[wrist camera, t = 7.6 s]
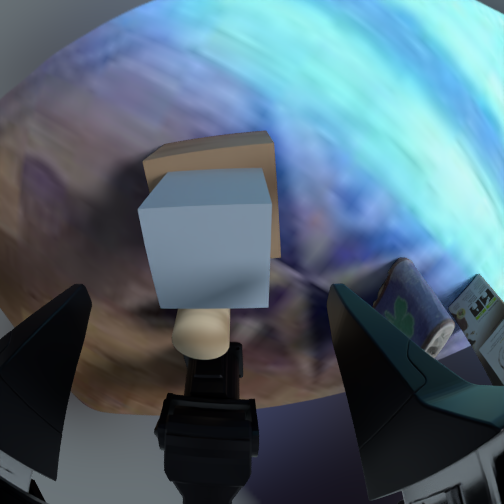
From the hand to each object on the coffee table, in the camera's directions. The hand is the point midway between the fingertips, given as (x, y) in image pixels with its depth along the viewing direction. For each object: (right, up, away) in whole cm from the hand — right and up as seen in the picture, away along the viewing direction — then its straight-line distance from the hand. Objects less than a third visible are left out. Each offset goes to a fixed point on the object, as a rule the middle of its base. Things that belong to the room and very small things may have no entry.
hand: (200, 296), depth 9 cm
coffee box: (+31, -5, +19) cm, 37 cm away
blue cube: (0, +4, +6) cm, 7 cm away
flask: (+15, -3, +17) cm, 23 cm away
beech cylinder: (-3, -3, +16) cm, 16 cm away
